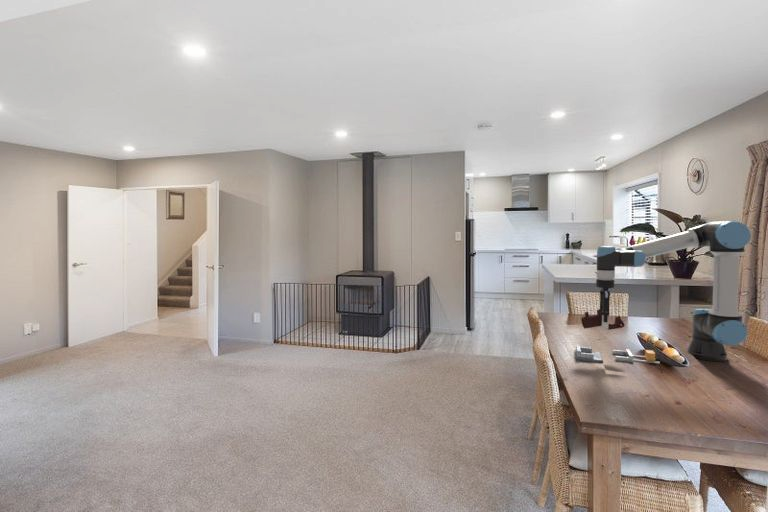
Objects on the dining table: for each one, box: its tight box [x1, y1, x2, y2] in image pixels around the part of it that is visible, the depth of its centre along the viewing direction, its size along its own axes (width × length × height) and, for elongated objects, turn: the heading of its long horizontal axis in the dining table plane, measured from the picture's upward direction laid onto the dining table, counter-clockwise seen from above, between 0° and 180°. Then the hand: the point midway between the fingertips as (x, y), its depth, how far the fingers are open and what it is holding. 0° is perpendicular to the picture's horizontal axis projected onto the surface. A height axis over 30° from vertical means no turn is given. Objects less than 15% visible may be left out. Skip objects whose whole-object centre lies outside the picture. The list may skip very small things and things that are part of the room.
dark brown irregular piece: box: [580, 308, 625, 331], centre depth 194 cm, size 6×17×10 cm, turn 79°
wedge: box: [644, 349, 656, 361], centre depth 187 cm, size 3×5×4 cm, turn 158°
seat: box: [574, 344, 661, 365], centre depth 193 cm, size 34×13×4 cm, turn 68°
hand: (603, 326), depth 194 cm, fingers closed on dark brown irregular piece, 8 cm apart
